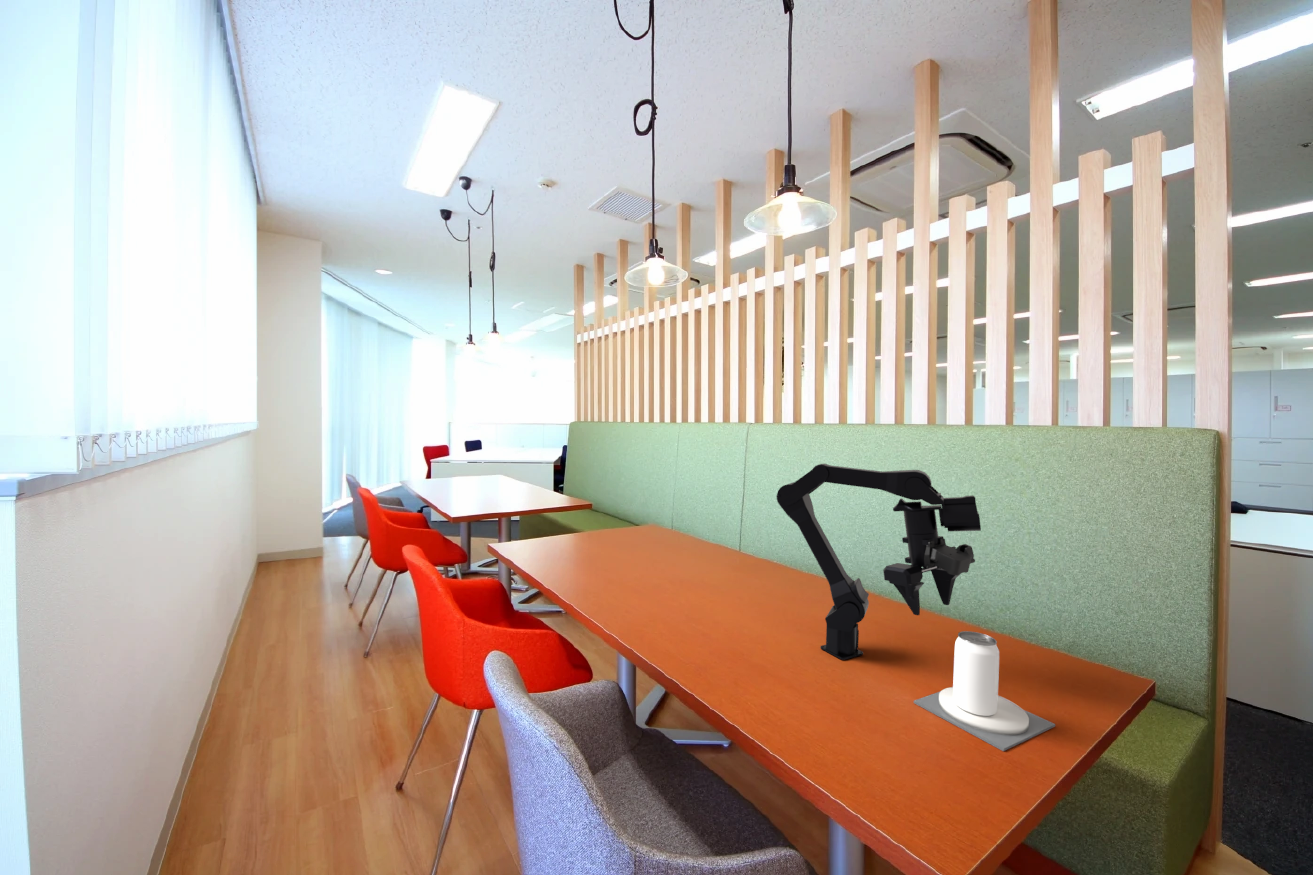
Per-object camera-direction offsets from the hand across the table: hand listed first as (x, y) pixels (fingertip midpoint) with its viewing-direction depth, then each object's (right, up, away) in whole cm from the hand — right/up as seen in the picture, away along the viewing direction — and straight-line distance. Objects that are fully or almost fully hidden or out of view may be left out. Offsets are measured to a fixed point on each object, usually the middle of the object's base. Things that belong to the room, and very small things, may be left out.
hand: (931, 609), depth 102 cm
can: (-1, -12, -15) cm, 19 cm away
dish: (0, -13, -15) cm, 20 cm away
